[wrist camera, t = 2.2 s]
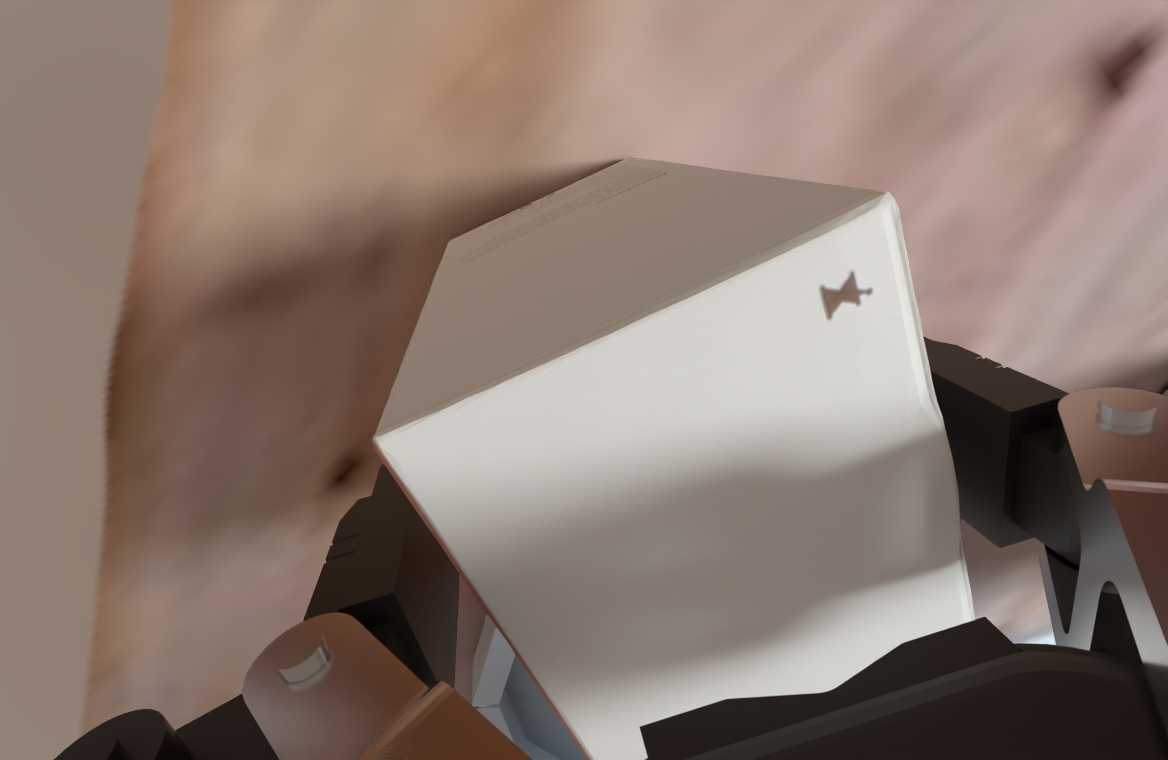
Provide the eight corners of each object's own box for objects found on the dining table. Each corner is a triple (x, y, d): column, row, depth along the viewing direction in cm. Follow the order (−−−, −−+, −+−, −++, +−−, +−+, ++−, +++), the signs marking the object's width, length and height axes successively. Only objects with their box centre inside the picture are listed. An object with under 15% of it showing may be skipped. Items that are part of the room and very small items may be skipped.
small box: (443, 240, 18) (347, 434, 6) (631, 152, 18) (916, 171, 6) (552, 446, 21) (630, 839, 9) (712, 373, 21) (1002, 677, 9)
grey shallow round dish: (876, 403, 22) (918, 431, 20) (886, 714, 30) (917, 760, 27) (419, 532, 22) (410, 576, 19) (542, 820, 29) (546, 876, 27)
